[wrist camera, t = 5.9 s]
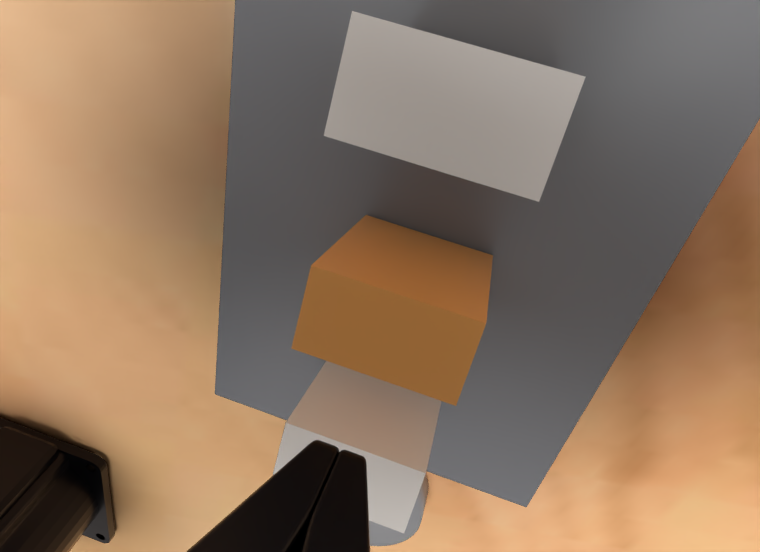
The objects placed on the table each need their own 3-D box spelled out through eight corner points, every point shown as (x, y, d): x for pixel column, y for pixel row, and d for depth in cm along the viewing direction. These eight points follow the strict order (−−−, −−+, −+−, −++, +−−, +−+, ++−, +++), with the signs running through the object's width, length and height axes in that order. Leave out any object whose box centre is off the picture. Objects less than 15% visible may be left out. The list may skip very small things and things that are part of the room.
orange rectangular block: (470, 318, 14) (456, 406, 10) (349, 278, 14) (291, 348, 10) (493, 255, 13) (485, 323, 9) (365, 214, 14) (310, 265, 10)
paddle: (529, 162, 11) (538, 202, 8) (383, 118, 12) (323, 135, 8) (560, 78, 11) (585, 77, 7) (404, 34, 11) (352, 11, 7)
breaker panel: (530, 455, 19) (526, 507, 17) (243, 353, 20) (215, 394, 19) (790, -14, 11) (827, 4, 9) (287, -142, 12) (242, -147, 10)
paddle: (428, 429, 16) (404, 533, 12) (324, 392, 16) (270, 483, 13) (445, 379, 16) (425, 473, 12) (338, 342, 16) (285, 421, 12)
